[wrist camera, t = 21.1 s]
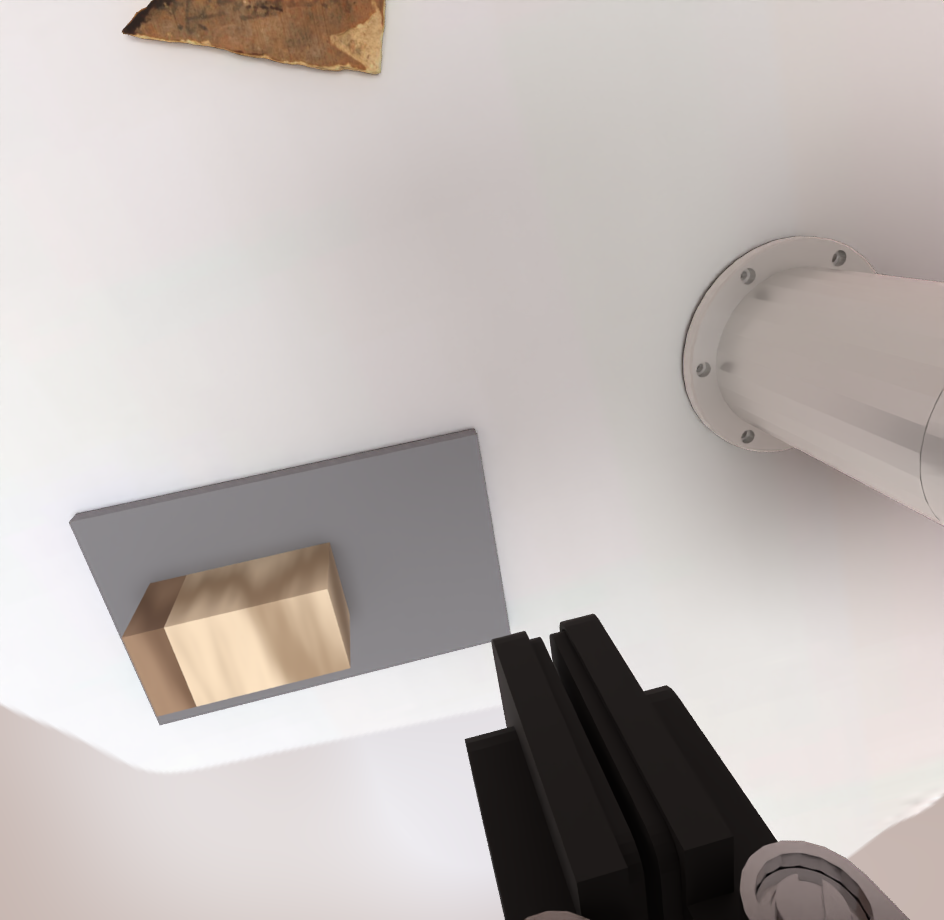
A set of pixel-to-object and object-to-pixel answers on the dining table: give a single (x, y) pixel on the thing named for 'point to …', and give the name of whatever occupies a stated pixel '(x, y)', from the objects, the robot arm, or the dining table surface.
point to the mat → (352, 542)
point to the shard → (273, 29)
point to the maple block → (240, 629)
